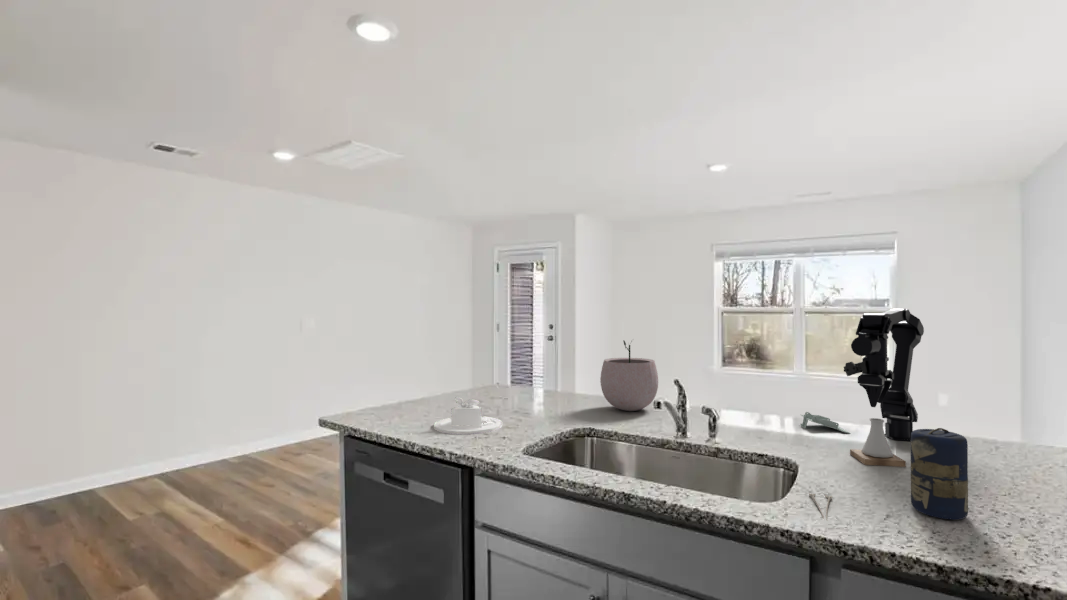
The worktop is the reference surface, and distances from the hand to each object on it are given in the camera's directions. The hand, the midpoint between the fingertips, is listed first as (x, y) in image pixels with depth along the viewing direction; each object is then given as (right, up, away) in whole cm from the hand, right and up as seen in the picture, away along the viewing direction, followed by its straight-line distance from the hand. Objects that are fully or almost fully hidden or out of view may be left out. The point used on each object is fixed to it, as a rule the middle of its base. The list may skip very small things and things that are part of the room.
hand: (876, 404), depth 159 cm
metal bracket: (-3, -14, +25) cm, 29 cm away
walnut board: (-9, -13, -13) cm, 20 cm away
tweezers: (-43, -14, -48) cm, 66 cm away
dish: (-129, -15, +31) cm, 134 cm away
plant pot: (-65, -14, +58) cm, 89 cm away
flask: (-9, -12, -13) cm, 19 cm away
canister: (-20, -13, -50) cm, 56 cm away
